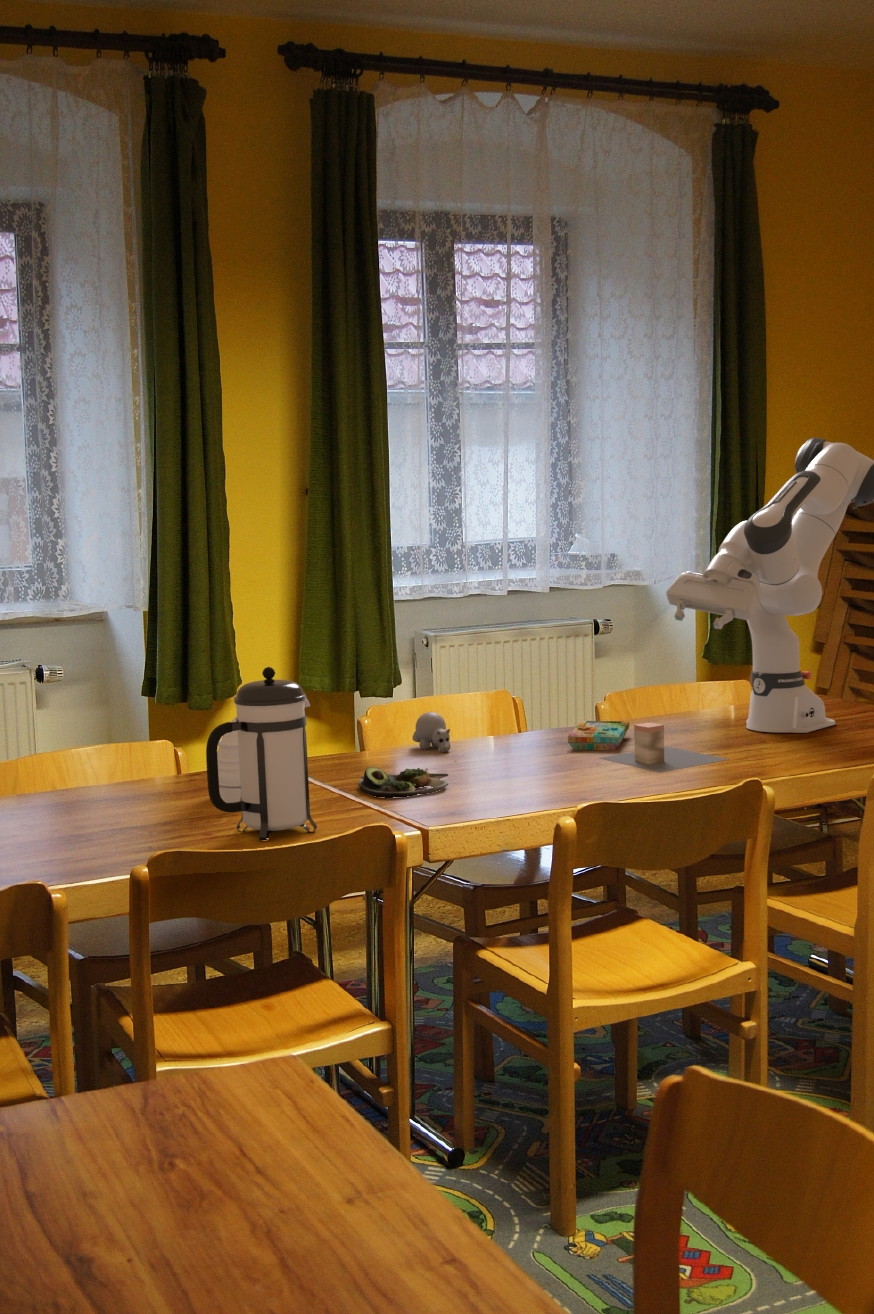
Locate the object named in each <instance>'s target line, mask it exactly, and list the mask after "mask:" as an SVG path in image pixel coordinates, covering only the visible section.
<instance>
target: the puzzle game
mask: <svg viewBox="0 0 874 1314" xmlns="http://www.w3.org/2000/svg"><path fill="white" fill-rule="evenodd" d="M629 729H630V722H629V721H621V720H620V721H619V720H616V721H614V720H613V721H611V720H607V721H606V720H581V721H580V722H579V723H578V724H577V725H576V727H574V728H573V730H572V731H571V732H570V733H569V734H568V737H567V742H568V744H569V746H570V747H571V749H572V750H573V751H574V752H577V751H582V750H584V751H586V750H587V751H616V750H617V748H618V747H619V746H620V744H621V742H622V741H623V740H624V738H625V736H626V735H627V732H628V730H629Z"/></svg>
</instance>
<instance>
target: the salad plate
mask: <svg viewBox="0 0 874 1314" xmlns="http://www.w3.org/2000/svg"><path fill="white" fill-rule="evenodd" d="M446 777H449V773H430V772H429V771H428V768H425V770H424V769H421V768H420V767H417V768H407V767H406V768H405V769H404V770H403V771H402V770H401V771H400V773H398V774H387V772H385V771H384V770H382V769H381V768H379V767H376V766H369V767H367V768H366V769H365V770H364V775H363V776H360V777H359V778H360V780H359V781H358V784H357V786H358V788H359V789H360V791H361V792H362V793H364V794H366V795H368V794H369V795H368V796H370V795H372V796H376V797H375V798H377V797H385V798H384V799H386V798H393V797H407V796H413V795H417V794H425V795H428V794H427V793H430V794H433V793H432V792H434V793H437V792H436V791H438V792H440V791H439V790H441V791H442V790H444V789H445V788H446V787H447V786H448V785H449V783H448V782H447V781H445V780H442V779H443V778H446ZM424 786H431V787H433V788H426V789H421V790H415V788H419V787H424ZM372 796H371V797H372ZM413 797H414V796H413ZM407 798H408V797H407Z"/></svg>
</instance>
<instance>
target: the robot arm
mask: <svg viewBox="0 0 874 1314" xmlns="http://www.w3.org/2000/svg"><path fill="white" fill-rule="evenodd" d="M794 470H795V473H796V474H794V475H793V476H792V477H790V478H789V480H788V481H786V482H785V484H783V486H782V487H781V488H780V489H779V490H778V492H777V493H775V495H774V496H773V497H772V498H771V499H770V500H769V501H768V503H766V504H765V505H764V506H763V507H762V508H760V509H759V510H757V511H756V512H755V513H753V514H752V515H751V516H750V517H749V518H748V520H743V521H740V522H739V523H738V524H736V525H735V526H733V528H731V530H730V531H729V532H728V533H727V535H726V536H725V538H724V540H723V541H722V543H721V544H720V546H719V548H718V552H717V554H715V555H714V556H713V557H712V558H711V561H710V562H709V564H708V566H707V567H706V568H705V570H704V572H703V573H699V572H698V573H697V572H693V571H686V572H682V573H680V574H679V573H678V575H677V577H676V579H674V581H673V582H672V583H671V584H670V586H669V587H668V588H667V590H666V593H665V594H666V598H667V601H668V604H669V605H671V606H676V611H675V613H674V617H673V618H674V619H675V620H676V621H681V622H682V621H683V619H684V618H685V617H686V615H685V613H684V611H685V609H690V610H696V611H701V612H705V613H710V614H715V615H720V616H721V617H716V618H715V619H714V621H713V628H714V629H717V630H722V629H723V628H724V625H726V624H728V623H729V622H731V621H733V620H734V618H735V619H740V620H743V621H746V623H747V625H748V630H749V633H750V639H751V645H752V646H751V649H752V670H751V673H750V686H751V688H752V689H751V692H750V697H749V699H750V700H749V707H748V708H749V709H748V716H747V717H748V718H747V719H746V726H745V727H746V729H748V730H750V731H755V732H765V733H796V734H799V733H800V734H801V733H802V734H804V733H805V734H807V733H810V732H813V731H816V730H820V729H825V728H828V727H830V726H831V727H832V726H834V725H836V721H835V720H836V719H835V720H834V719H832V718H829V717H826V707H825V703H824V701H823V699H822V698H821V697H819V695H817V694H816V693H814V691H812V690H811V689H810V688H809V687H808V686H806V682H805V680H808V681H810V680H811V679H812V678H813V673H812V671H809V670H808V671H806V670H804V671H801V670H800V668H801V667H800V666H801V665H800V659H801V658H800V657H801V656H800V653H801V652H800V651H801V650H800V639H799V637H798V635H797V634H796V633H795V632H794V631H793V630H792V629H791V627H790V624H789V622H788V620H787V616H790V617H791V616H792V617H795V616H802V615H807V614H810V613H812V612H814V611H815V610H816V609H818V607H819V605H820V604H821V602H822V599H823V588H822V587H823V586H822V584H821V582H820V580H819V576H818V575H819V569H820V566H821V562H822V561H823V559H824V557H825V555H826V553H827V552H828V549H829V547H830V545H831V544H832V542H833V540H834V538H835V537H836V535H837V533H838V531H839V529H840V527H841V524H842V522H843V520H844V518H845V515H846V511H847V509H848V506H849V504H852V503H853V505H852V509H853V510H856V509H857V508H858V507H862V506H863V507H864V506H867V505H871V504H872V503H874V459H872V458H870V457H869V456H868V455H867V456H866V455H865V454H863V453H861V452H860V451H857V450H856V449H855V448H854V447H853V446H851V445H849V444H848V443H844V442H830V441H827V439H825V438H821V437H812V438H809V439H807V440H806V441H805V442H804V443H803V444H802V445H801V447H800V448H799V449H798V451H797V454H796V456H795V460H794Z"/></svg>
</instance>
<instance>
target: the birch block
mask: <svg viewBox="0 0 874 1314" xmlns="http://www.w3.org/2000/svg"><path fill="white" fill-rule="evenodd" d="M664 726H665V725H664V724H660V723H654V722H644V723H638V724H633V731H634V733H633V734H634V735H633V736H634V752H635V761H637V762H641V763H646V764H652V763H658V762H663V761H664V747H665V728H664Z"/></svg>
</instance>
